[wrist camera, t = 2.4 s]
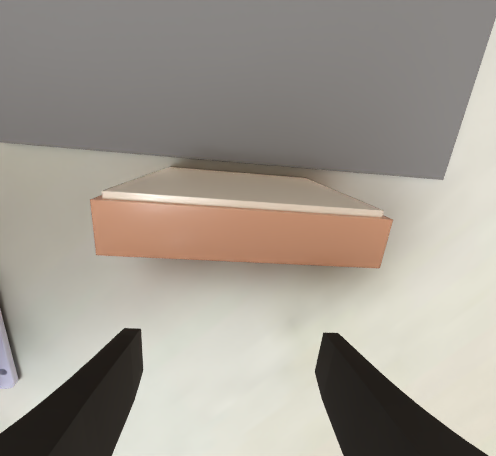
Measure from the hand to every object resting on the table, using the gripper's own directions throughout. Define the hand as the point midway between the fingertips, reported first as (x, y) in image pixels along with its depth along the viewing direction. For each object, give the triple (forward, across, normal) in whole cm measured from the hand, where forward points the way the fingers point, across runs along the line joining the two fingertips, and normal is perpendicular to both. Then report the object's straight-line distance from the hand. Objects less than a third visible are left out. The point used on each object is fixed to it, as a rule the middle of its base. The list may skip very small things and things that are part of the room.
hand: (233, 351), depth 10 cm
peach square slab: (+6, 0, -5) cm, 8 cm away
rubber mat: (+6, 0, -13) cm, 14 cm away
